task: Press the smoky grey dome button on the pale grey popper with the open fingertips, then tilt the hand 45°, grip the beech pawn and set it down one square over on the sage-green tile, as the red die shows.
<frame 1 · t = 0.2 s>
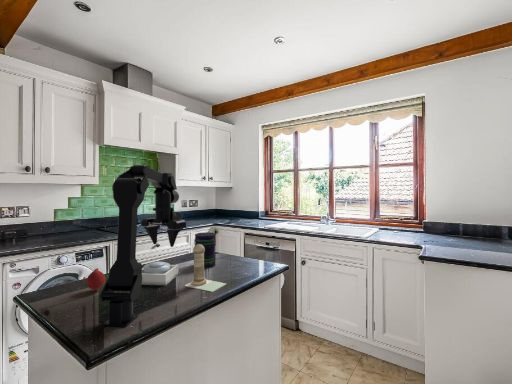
hand: (163, 245, 104), 15 cm above the table, tool pointing down, fingers open, 9 cm apart
game track: (205, 285, 102), on the table
storage jar: (205, 265, 129), on the table
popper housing: (156, 279, 109), on the table
beech pawn: (199, 283, 104), resting on game track
dome button: (156, 268, 109), point 4 cm above the table, slide at 0.0 cm
onion: (96, 291, 97), on the table
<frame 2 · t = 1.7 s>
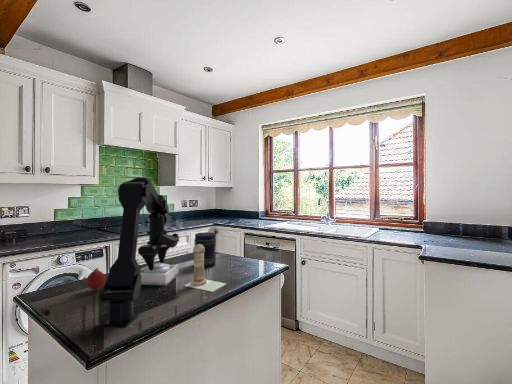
hand: (156, 266, 109), 5 cm above the table, tool pointing down
dome button: (156, 269, 109), point 4 cm above the table, slide at -0.6 cm, touching gripper
everything else where it was.
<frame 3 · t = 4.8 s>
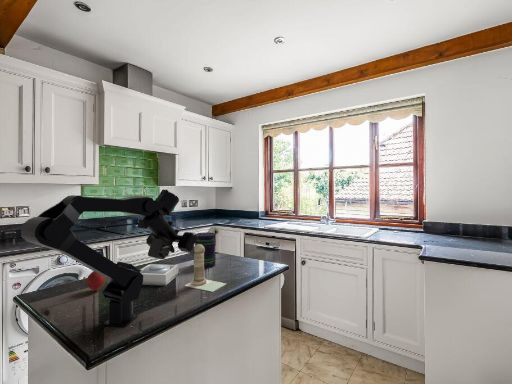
hand: (183, 253, 96), 14 cm above the table, tool tilted 45°, fingers open, 9 cm apart
dome button: (156, 271, 109), point 3 cm above the table, slide at -1.2 cm
everything else where it was.
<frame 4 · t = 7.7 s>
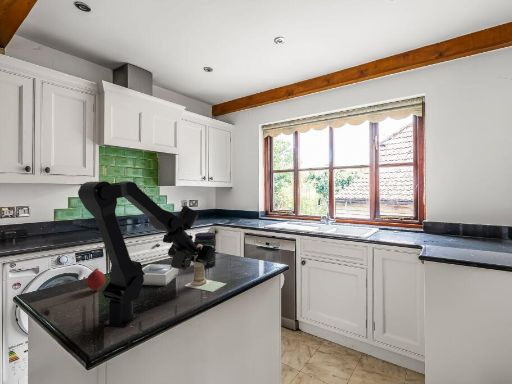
hand: (201, 263, 105), 7 cm above the table, tool tilted 45°, fingers closed on beech pawn, 4 cm apart
beech pawn: (199, 283, 104), resting on game track, touching gripper
everything else where it was.
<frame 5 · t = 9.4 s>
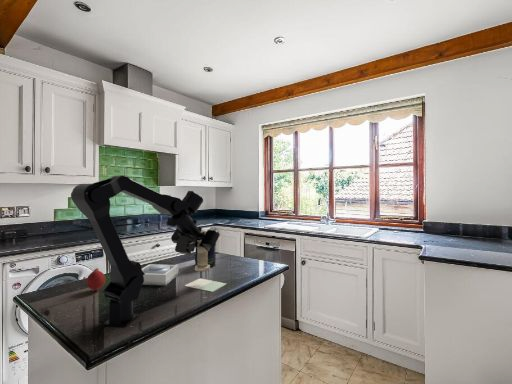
hand: (204, 249, 104), 13 cm above the table, tool tilted 45°, fingers closed on beech pawn, 4 cm apart
beech pawn: (202, 269, 103), point 6 cm above the table, touching gripper
everything else where it was.
when the fingers open (9 cm above the table, at t = 11.2 s): beech pawn drops 1 cm, resting on game track.
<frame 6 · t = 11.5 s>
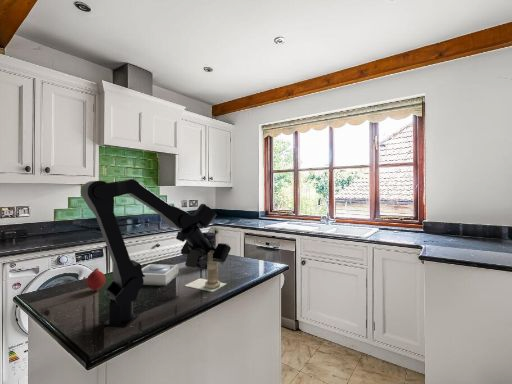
hand: (214, 262, 102), 9 cm above the table, tool tilted 45°, fingers open, 7 cm apart
beech pawn: (212, 285, 101), resting on game track
everything else where it was.
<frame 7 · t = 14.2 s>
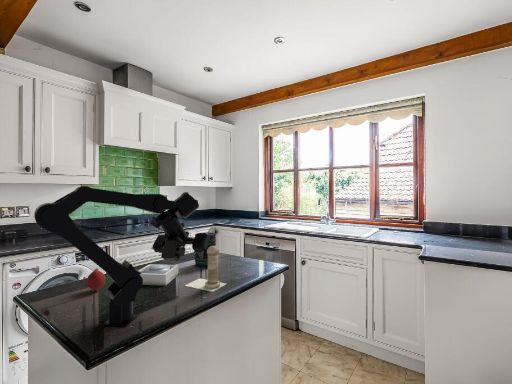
hand: (190, 258, 94), 12 cm above the table, tool tilted 40°, fingers open, 9 cm apart
nothing on the table moved.
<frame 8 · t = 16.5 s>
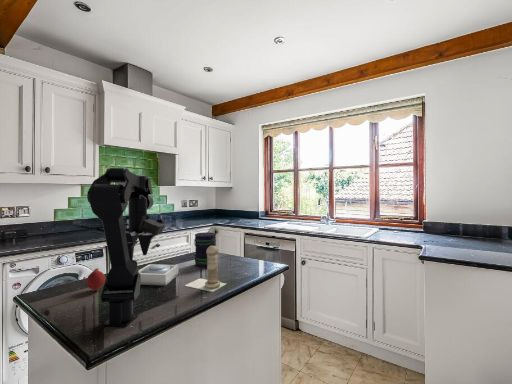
hand: (138, 258, 91), 13 cm above the table, tool pointing down, fingers open, 9 cm apart
nothing on the table moved.
at the end: dome button slide at -1.2 cm; beech pawn 0.1 cm from the target spot on the game track, point 0.2 cm above the game track's base; beech pawn tilted 1° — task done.
